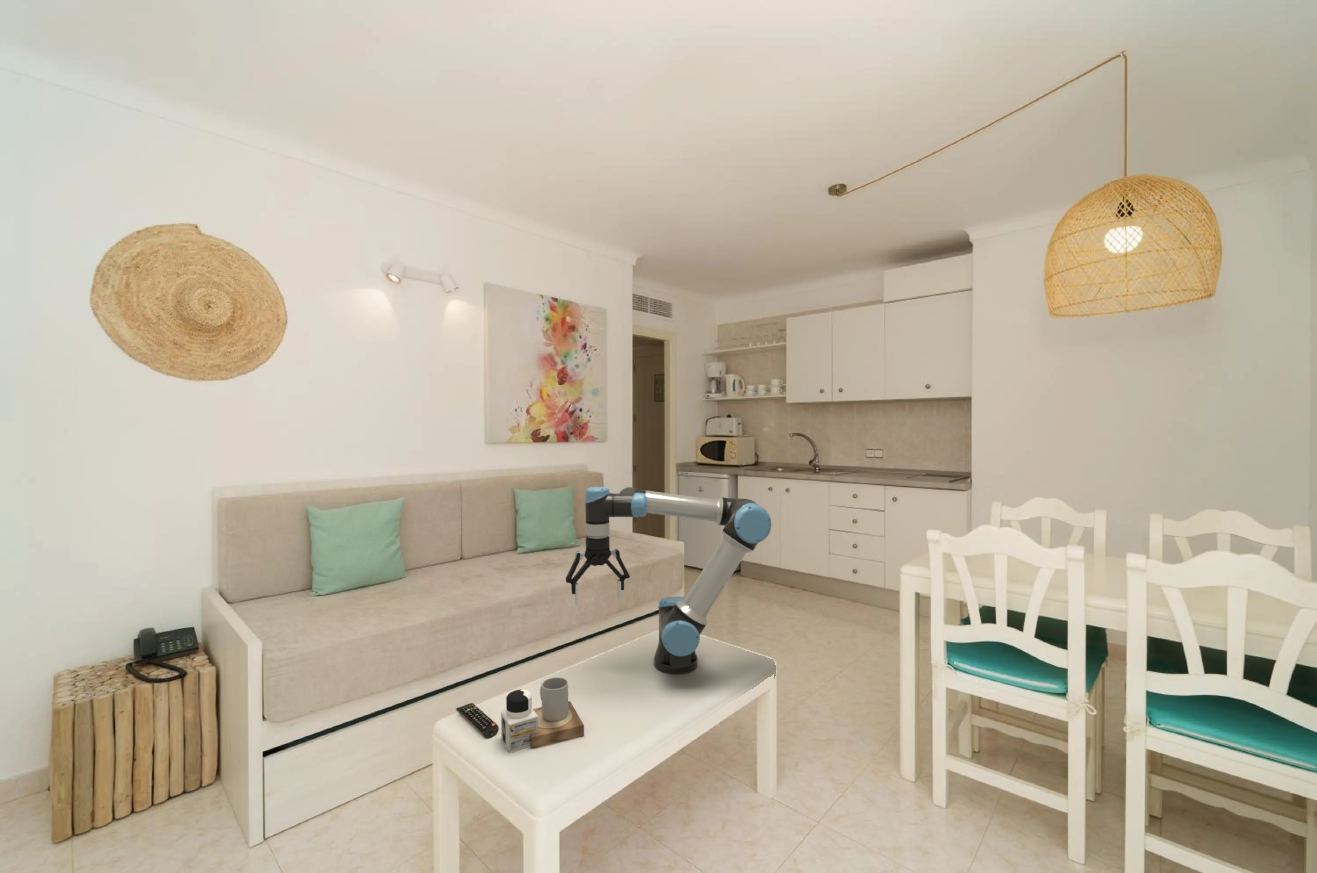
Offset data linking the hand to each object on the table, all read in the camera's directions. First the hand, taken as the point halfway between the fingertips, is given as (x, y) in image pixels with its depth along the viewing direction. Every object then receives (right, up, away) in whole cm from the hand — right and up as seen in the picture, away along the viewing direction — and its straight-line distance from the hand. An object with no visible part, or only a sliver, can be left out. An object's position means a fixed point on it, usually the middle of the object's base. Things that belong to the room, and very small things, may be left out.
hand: (598, 602), depth 177 cm
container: (-17, -28, -30) cm, 45 cm away
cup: (-10, -24, -23) cm, 35 cm away
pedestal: (-10, -28, -24) cm, 38 cm away
